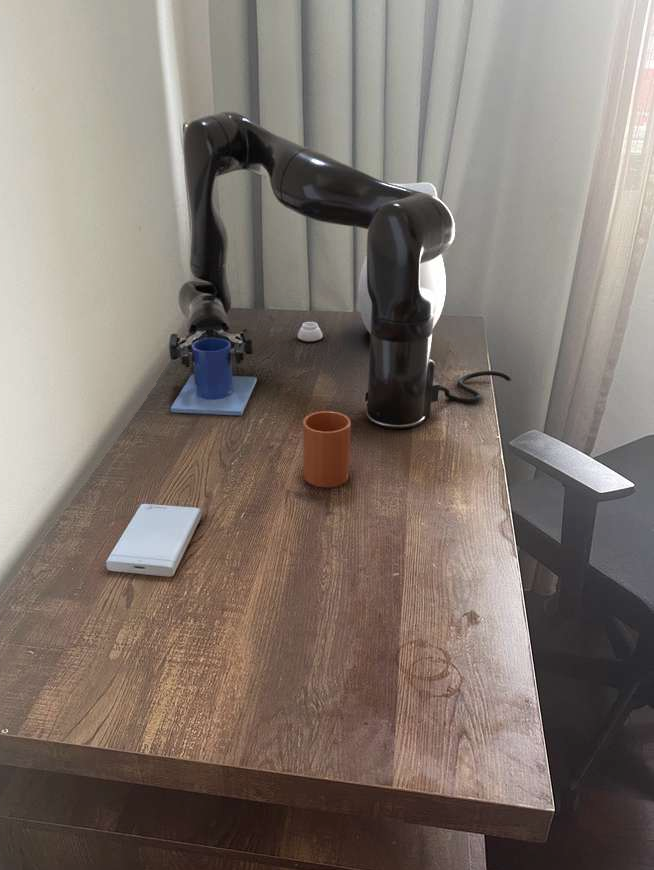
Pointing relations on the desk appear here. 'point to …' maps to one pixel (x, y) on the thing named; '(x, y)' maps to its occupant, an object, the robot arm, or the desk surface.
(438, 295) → the pitcher
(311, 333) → the white jar
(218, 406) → the blue mat
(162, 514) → the hard drive
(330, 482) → the terracotta cup
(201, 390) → the blue cup
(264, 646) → the desk surface
